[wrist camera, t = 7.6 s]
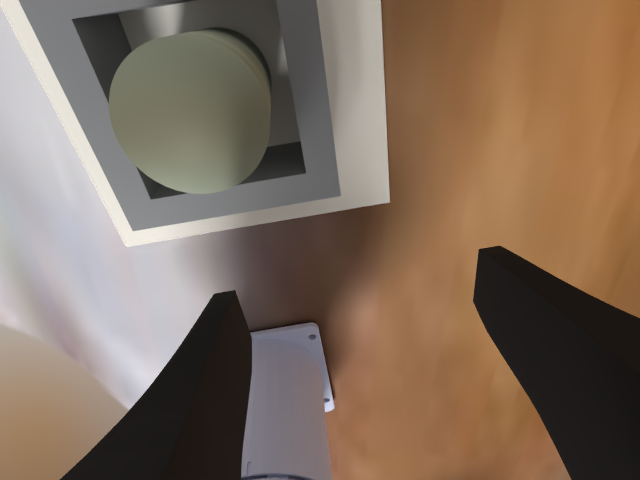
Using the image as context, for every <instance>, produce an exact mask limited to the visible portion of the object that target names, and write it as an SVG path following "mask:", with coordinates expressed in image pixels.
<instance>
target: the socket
mask: <svg viewBox="0 0 640 480" xmlns="http://www.w3.org/2000/svg"><path fill="white" fill-rule="evenodd" d="M0 6H1V8H2V10H3V12H4V14H5V16H6V18H7V20H8V21H9V23H10V25H11V27H12V29H13V31H14V33H15V35H16V37H17V39H18V41H19V43H20V45H21V46H22V48H23V50H24V52H25V54H26V56H27V58H28V60H29V62H30V64H31V66H32V68H33V69H34V71H35V73H36V75H37V77H38V79H39V81H40V83H41V85H42V87H43V89H44V91H45V92H46V94H47V96H48V98H49V100H50V102H51V104H52V106H53V108H54V110H55V112H56V114H57V115H58V117H59V119H60V121H61V123H62V125H63V127H64V129H65V131H66V133H67V135H68V137H69V139H70V140H71V142H72V144H73V146H74V148H75V150H76V152H77V154H78V156H79V158H80V160H81V162H82V163H83V165H84V167H85V169H86V171H87V173H88V175H89V177H90V179H91V181H92V183H93V185H94V186H95V188H96V190H97V192H98V194H99V196H100V198H101V200H102V202H103V204H104V206H105V208H106V209H107V211H108V213H109V215H110V217H111V219H112V221H113V223H114V225H115V227H116V229H117V231H118V233H119V234H120V236H121V238H122V240H123V242H124V244H125V246H126V247H129V246H135V245H141V244H147V243H153V242H158V241H164V240H170V239H176V238H182V237H188V236H194V235H200V234H206V233H212V232H218V231H223V230H229V229H235V228H241V227H247V226H253V225H259V224H265V223H271V222H277V221H283V220H289V219H294V218H300V217H306V216H312V215H318V214H324V213H330V212H336V211H342V210H348V209H354V208H359V207H365V206H371V205H377V204H383V203H389V202H390V194H389V172H388V149H387V127H386V104H385V82H384V59H383V37H382V15H381V0H0ZM210 27H223V28H228V29H232V30H234V31H237V32H239V33H241V34H243V35H244V36H246V37H247V38H249V39H250V40H251V41H252V42H253V43H254V44H255V45H256V46H257V47H258V48H259V49H260V51H261V52H262V54H263V55H264V57H265V59H266V61H267V64H268V67H269V70H270V74H271V111H270V134H269V140H268V145H267V148H266V151H265V153H264V156H263V158H262V160H261V162H260V163H259V165H258V166H257V168H256V169H255V170H254V171H253V172H252V174H250V175H249V176H248V177H247V178H246V179H245V180H243V181H242V182H241V183H239V184H238V185H236V186H234V187H232V188H230V189H227V190H224V191H221V192H216V193H209V194H192V193H185V192H181V191H177V190H174V189H171V188H169V187H166V186H164V185H162V184H160V183H158V182H156V181H155V180H153V179H152V178H150V177H148V176H147V175H146V174H145V173H143V172H142V171H141V170H140V169H139V168H138V167H137V166H136V165H135V164H134V163H133V162H132V161H131V160H130V159H129V157H128V156H127V155H126V154H125V152H124V150H123V149H122V147H121V146H120V144H119V142H118V140H117V138H116V136H115V133H114V130H113V127H112V124H111V119H110V114H109V93H110V88H111V84H112V80H113V78H114V75H115V73H116V71H117V69H118V68H119V66H120V64H121V63H122V62H123V60H124V59H125V58H126V57H127V56H128V55H129V54H130V53H131V52H132V51H133V50H135V49H136V48H137V47H139V46H141V45H142V44H144V43H146V42H148V41H151V40H154V39H156V38H161V37H165V36H170V35H175V34H180V33H185V32H190V31H195V30H200V29H205V28H210Z"/></svg>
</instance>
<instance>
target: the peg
mask: <svg viewBox="0 0 640 480" xmlns="http://www.w3.org/2000/svg"><path fill="white" fill-rule="evenodd" d="M270 111H271V74H270V70H269V67H268V64H267V61H266V59H265V57H264V55H263V54H262V52H261V51H260V49H259V48H258V47H257V46H256V45H255V44H254V43H253V42H252V41H251V40H250V39H249V38H247V37H246V36H244V35H243V34H241V33H239V32H237V31H234V30H232V29H228V28H223V27H210V28H205V29H200V30H195V31H190V32H185V33H180V34H175V35H170V36H165V37H161V38H156V39H154V40H151V41H148V42H146V43H144V44H142V45H141V46H139V47H137V48H136V49H135V50H133V51H132V52H131V53H130V54H129V55H128V56H127V57H126V58H125V59H124V60H123V62H122V63H121V64H120V66H119V68H118V69H117V71H116V73H115V75H114V78H113V80H112V84H111V88H110V93H109V114H110V119H111V124H112V127H113V130H114V133H115V136H116V138H117V140H118V142H119V144H120V146H121V147H122V149H123V150H124V152H125V154H126V155H127V156H128V157H129V159H130V160H131V161H132V162H133V163H134V164H135V165H136V166H137V167H138V168H139V169H140V170H141V171H142V172H143V173H145V174H146V175H147V176H148V177H150V178H152V179H153V180H155V181H156V182H158V183H160V184H162V185H164V186H166V187H169V188H171V189H174V190H177V191H181V192H185V193H192V194H209V193H216V192H221V191H224V190H227V189H230V188H232V187H234V186H236V185H238V184H239V183H241V182H242V181H243V180H245V179H246V178H247V177H248V176H249V175H250V174H252V172H253V171H254V170H255V169H256V168H257V166H258V165H259V163H260V162H261V160H262V158H263V156H264V153H265V151H266V148H267V145H268V140H269V134H270Z"/></svg>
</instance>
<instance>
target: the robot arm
mask: <svg viewBox="0 0 640 480" xmlns="http://www.w3.org/2000/svg"><path fill="white" fill-rule="evenodd" d="M473 302H474V304H475V306H476V309H477V311H478V313H479V315H480V318H481V320H482V322H483V324H484V326H485V328H486V330H487V332H488V334H489V335H490V337H491V338H492V340H493V342H494V343H495V345H496V346H497V348H498V350H499V351H500V353H501V354H502V356H503V357H504V359H505V361H506V362H507V364H508V365H509V367H510V368H511V370H512V371H513V373H514V375H515V376H516V378H517V379H518V381H519V382H520V384H521V386H522V387H523V389H524V390H525V392H526V393H527V395H528V396H529V398H530V400H531V401H532V403H533V405H534V407H535V408H536V410H537V412H538V413H539V415H540V417H541V419H542V421H543V423H544V425H545V427H546V429H547V431H548V433H549V435H550V437H551V439H552V441H553V443H554V445H555V446H556V448H557V450H558V453H559V455H560V457H561V459H562V461H563V463H564V465H565V467H566V469H567V471H568V473H569V475H570V477H571V479H572V480H640V318H638V317H636V316H633V315H631V314H629V313H626V312H624V311H622V310H620V309H618V308H615V307H613V306H611V305H609V304H607V303H605V302H603V301H601V300H599V299H597V298H595V297H593V296H591V295H589V294H587V293H585V292H583V291H581V290H579V289H577V288H575V287H574V286H572V285H570V284H568V283H566V282H564V281H562V280H561V279H559V278H557V277H555V276H553V275H552V274H550V273H548V272H546V271H544V270H543V269H541V268H539V267H537V266H536V265H534V264H532V263H530V262H529V261H527V260H525V259H523V258H522V257H520V256H518V255H516V254H514V253H513V252H511V251H509V250H507V249H505V248H503V247H501V246H495V247H489V248H483V249H479V253H478V262H477V271H476V280H475V289H474V298H473ZM311 334H314V335H311ZM333 409H334V401H333V396H332V391H331V386H330V381H329V376H328V371H327V367H326V362H325V357H324V352H323V347H322V342H321V338H320V333H319V328H318V325H317V324H316V323H304V324H298V325H292V326H287V327H281V328H275V329H269V330H263V331H257V332H251V333H250V331H249V328H248V326H247V323H246V320H245V317H244V314H243V311H242V309H241V306H240V303H239V300H238V297H237V294H236V292H235V290H234V291H228V292H222V293H216V294H214V295H213V297H212V298H211V299H210V301H209V303H208V304H207V306H206V307H205V309H204V310H203V312H202V313H201V315H200V317H199V318H198V320H197V321H196V323H195V324H194V326H193V327H192V329H191V330H190V332H189V333H188V335H187V336H186V338H185V339H184V341H183V342H182V344H181V345H180V347H179V348H178V349H177V351H176V352H175V354H174V355H173V357H172V358H171V359H170V361H169V362H168V363H167V365H166V366H165V367H164V369H163V370H162V371H161V373H160V374H159V375H158V377H157V378H156V379H155V380H154V382H153V383H152V384H151V386H150V387H149V388H148V389H147V390H146V392H145V393H144V394H143V395H142V396H141V398H140V399H139V400H138V401H137V402H136V403H135V405H134V406H133V407H132V408H131V409H130V410H129V411H128V413H127V414H126V415H125V416H124V417H123V418H122V419H121V420H120V421H119V422H118V423H117V424H116V425H115V426H114V427H113V428H112V430H111V431H110V432H109V433H108V434H107V435H106V436H105V437H104V438H103V439H102V440H101V441H100V442H99V443H98V444H97V445H96V446H95V447H94V448H93V449H92V450H91V451H90V452H89V453H88V454H87V455H86V456H85V457H84V458H83V459H82V460H81V461H79V462H78V463H77V464H76V465H75V466H74V467H73V468H72V469H71V470H70V471H69V472H68V473H67V474H65V475H64V476H63V477H62V478H61V479H60V480H332V471H331V462H330V453H329V444H328V434H327V425H326V416H325V412H328V411H331V410H333Z"/></svg>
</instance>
